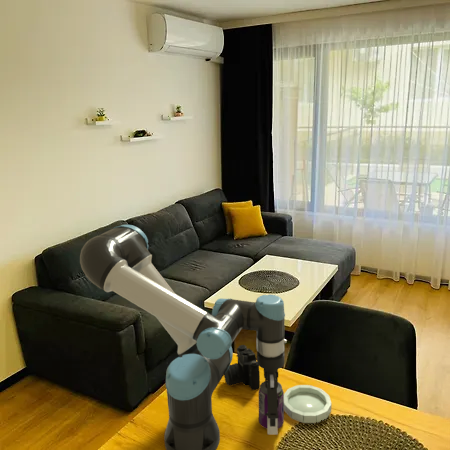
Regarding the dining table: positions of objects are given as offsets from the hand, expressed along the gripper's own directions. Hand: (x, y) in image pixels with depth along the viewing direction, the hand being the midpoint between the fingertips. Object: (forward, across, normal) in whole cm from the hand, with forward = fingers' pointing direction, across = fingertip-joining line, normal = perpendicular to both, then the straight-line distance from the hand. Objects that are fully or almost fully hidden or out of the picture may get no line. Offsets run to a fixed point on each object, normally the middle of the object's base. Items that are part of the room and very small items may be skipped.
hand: (271, 416), depth 125 cm
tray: (+2, +7, -11) cm, 13 cm away
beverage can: (+2, 0, 0) cm, 2 cm away
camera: (+2, +20, +9) cm, 23 cm away
